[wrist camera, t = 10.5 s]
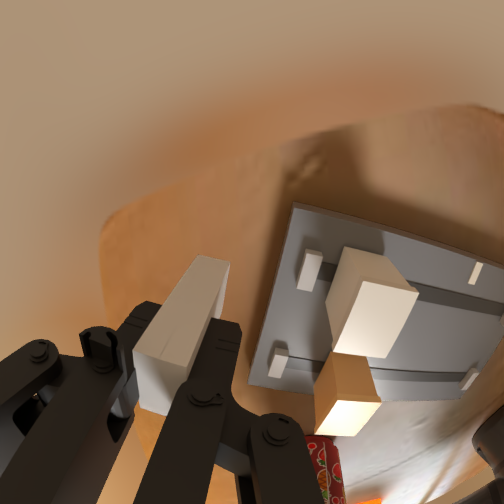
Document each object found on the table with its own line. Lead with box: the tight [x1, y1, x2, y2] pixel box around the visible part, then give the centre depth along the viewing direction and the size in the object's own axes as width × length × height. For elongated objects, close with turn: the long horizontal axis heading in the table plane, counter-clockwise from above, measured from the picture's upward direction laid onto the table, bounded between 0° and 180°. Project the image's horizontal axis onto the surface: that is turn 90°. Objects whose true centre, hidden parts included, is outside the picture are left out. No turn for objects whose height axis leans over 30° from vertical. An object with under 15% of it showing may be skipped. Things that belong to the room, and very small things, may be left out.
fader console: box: [247, 201, 504, 401], centre depth 19 cm, size 24×15×3 cm, turn 79°
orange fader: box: [314, 351, 382, 436], centre depth 18 cm, size 3×4×5 cm
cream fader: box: [325, 246, 419, 358], centre depth 15 cm, size 3×4×5 cm
